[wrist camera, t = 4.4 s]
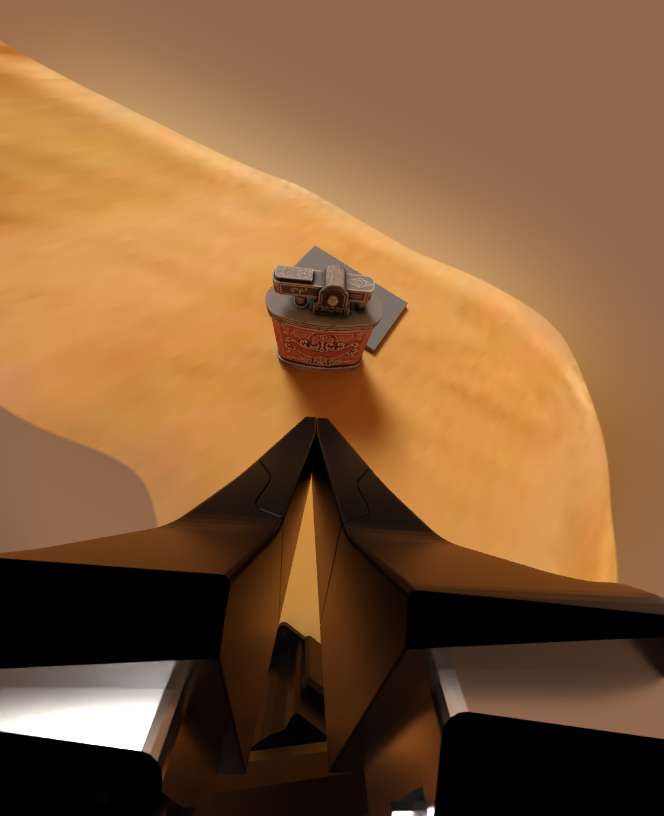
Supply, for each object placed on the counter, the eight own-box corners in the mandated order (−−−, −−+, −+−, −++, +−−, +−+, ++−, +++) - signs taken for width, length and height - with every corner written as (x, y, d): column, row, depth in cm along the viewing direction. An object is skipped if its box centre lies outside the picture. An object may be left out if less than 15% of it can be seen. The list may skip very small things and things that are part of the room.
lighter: (360, 344, 25) (395, 258, 15) (360, 375, 24) (397, 304, 14) (279, 337, 24) (262, 243, 15) (275, 368, 23) (255, 290, 14)
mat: (372, 352, 25) (374, 350, 24) (275, 289, 26) (275, 286, 25) (405, 306, 27) (407, 303, 26) (314, 249, 28) (314, 245, 27)
